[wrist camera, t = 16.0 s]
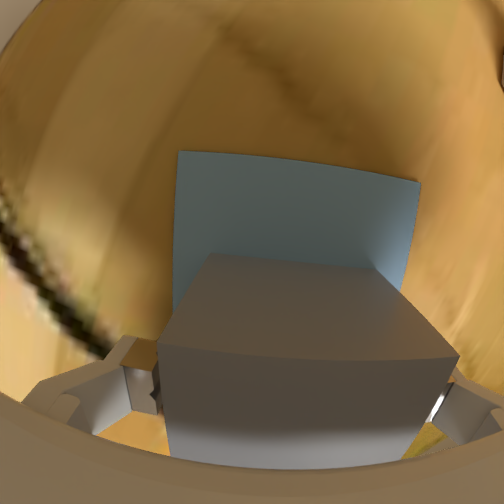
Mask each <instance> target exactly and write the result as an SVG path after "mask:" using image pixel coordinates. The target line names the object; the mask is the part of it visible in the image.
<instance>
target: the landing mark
mask: <svg viewBox="0 0 504 504" xmlns="http://www.w3.org/2000/svg"><path fill="white" fill-rule="evenodd" d="M420 187H421V183H419V182H415V181H411V180H406V179H402V178H397V177H392V176H388V175H383V174H378V173H373V172H367V171H362V170H357V169H351V168H345V167H339V166H333V165H326V164H320V163H313V162H306V161H298V160H290V159H282V158H273V157H264V156H253V155H242V154H230V153H215V152H198V151H179V152H178V164H177V177H176V192H175V209H174V232H173V313H174V311H175V310H176V308H177V306H178V305H179V303H180V301H181V300H182V298H183V296H184V295H185V293H186V291H187V290H188V288H189V286H190V285H191V283H192V281H193V280H194V278H195V276H196V275H197V273H198V271H199V270H200V268H201V267H202V265H203V263H204V262H205V260H206V258H207V257H208V255H209V254H210V253H218V254H227V255H237V256H247V257H256V258H266V259H276V260H286V261H296V262H306V263H316V264H326V265H336V266H346V267H356V268H366V269H376V270H378V271H379V272H380V273H381V274H382V275H383V276H384V277H385V278H386V279H387V280H388V281H389V282H390V283H391V284H392V285H393V286H394V287H395V288H396V289H397V290H398V291H399V292H400V289H401V285H402V281H403V277H404V273H405V269H406V265H407V260H408V256H409V251H410V246H411V241H412V236H413V231H414V226H415V220H416V214H417V208H418V201H419V194H420Z"/></svg>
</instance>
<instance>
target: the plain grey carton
mask: <svg viewBox="0 0 504 504" xmlns="http://www.w3.org/2000/svg"><path fill="white" fill-rule="evenodd" d="M157 353H158V365H159V376H160V385H161V394H162V402H163V410H164V417H165V424H166V431H167V438H168V444H169V450H170V455H171V457H176V458H181V459H186V460H192V461H198V462H204V463H211V464H219V465H227V466H236V467H248V468H263V469H327V468H342V467H353V466H363V465H371V464H378V463H385V462H391V461H397V460H400V459H401V457H402V456H403V455H404V453H405V452H406V450H407V449H408V447H409V446H410V445H411V443H412V442H413V440H414V439H415V437H416V436H417V434H418V433H419V431H420V429H421V428H422V426H423V425H424V423H425V421H426V420H427V418H428V417H429V415H430V413H431V411H432V410H433V408H434V406H435V405H436V403H437V401H438V399H439V397H440V396H441V394H442V392H443V390H444V388H445V386H446V384H447V382H448V380H449V378H450V376H451V374H452V372H453V370H454V368H455V366H456V364H457V362H458V359H459V357H460V355H459V354H458V353H457V352H456V351H455V350H454V349H453V347H452V346H451V345H450V344H449V343H448V342H447V341H446V340H445V339H444V338H443V336H442V335H441V334H440V333H439V332H438V331H437V330H436V329H435V328H434V327H433V326H432V325H431V324H430V323H429V322H428V320H427V319H426V318H425V317H424V316H423V315H422V314H421V313H420V312H419V311H418V310H417V309H416V308H415V307H414V306H413V305H412V304H411V303H410V302H409V301H408V300H407V299H406V298H405V297H404V296H403V295H402V294H401V293H400V292H399V291H398V290H397V289H396V288H395V287H394V286H393V285H392V284H391V283H390V282H389V281H388V280H387V279H386V278H385V277H384V276H383V275H382V274H381V273H380V272H379V271H378V270H376V269H366V268H356V267H346V266H336V265H326V264H316V263H306V262H296V261H286V260H276V259H266V258H256V257H247V256H237V255H227V254H218V253H210V254H209V255H208V257H207V258H206V260H205V262H204V263H203V265H202V267H201V268H200V270H199V271H198V273H197V275H196V276H195V278H194V280H193V281H192V283H191V285H190V286H189V288H188V290H187V291H186V293H185V295H184V296H183V298H182V300H181V301H180V303H179V305H178V306H177V308H176V310H175V311H174V313H173V315H172V317H171V318H170V320H169V322H168V323H167V325H166V327H165V329H164V330H163V332H162V334H161V335H160V337H159V339H158V341H157Z"/></svg>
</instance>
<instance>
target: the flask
mask: <svg viewBox="0 0 504 504" xmlns="http://www.w3.org/2000/svg"><path fill="white" fill-rule="evenodd" d="M502 85H503V87H504V57H503V73H502Z"/></svg>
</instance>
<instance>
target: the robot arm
mask: <svg viewBox="0 0 504 504" xmlns="http://www.w3.org/2000/svg"><path fill="white" fill-rule="evenodd" d="M162 403H163V402H162V394H161V385H160V376H159V365H158V353H157V341H153V340H148V339H143V338H138V337H134V336H129V335H124V336H122V337H121V339H120V340H119V341H118V342H117V344H116V345H115V346H114V348H113V349H112V350H111V351H110V353H109V354H108V355H107V357H106V358H105V359H104V361H101V360H98V361H95V362H93V363H90V364H87V365H84V366H82V367H79V368H76V369H73V370H71V371H68V372H65V373H62V374H59V375H57V376H54V377H51V378H48V379H45V380H42V381H40V382H39V383H38V384H37V385H36V386H35V387H34V388H33V389H32V391H31V392H30V393H29V394H28V395H27V396H26V397H25V399H24V400H23V401H22V402H21V403H20V402H18V401H16V400H15V399H13V398H11V397H9V396H7V395H6V394H4V393H2V392H0V504H504V396H502V395H499V394H497V393H495V392H493V391H491V390H489V389H487V388H485V387H483V386H481V385H479V384H477V383H475V382H473V381H471V380H467V379H466V378H465V377H464V376H463V374H462V373H461V372H460V371H459V370H458V368H457V367H456V366H455V368H454V370H453V372H452V374H451V376H450V378H449V380H448V382H447V384H446V386H445V388H444V390H443V392H442V394H441V396H440V397H439V399H438V401H437V403H436V405H435V406H434V408H433V410H432V411H431V413H430V415H429V417H428V418H427V420H426V421H425V423H426V422H431V423H432V424H434V425H435V426H436V427H437V428H439V429H440V430H441V431H442V432H443V433H445V434H446V435H447V436H448V437H450V438H451V439H452V440H453V441H455V442H456V443H457V444H458V445H459V446H456V447H453V448H449V449H446V450H442V451H438V452H435V453H430V454H426V455H422V456H417V457H413V458H408V459H402V460H397V461H391V462H385V463H378V464H371V465H363V466H353V467H342V468H327V469H263V468H248V467H236V466H227V465H219V464H211V463H204V462H198V461H192V460H186V459H181V458H176V457H171V456H166V455H162V454H157V453H153V452H149V451H145V450H141V449H137V448H134V447H130V446H127V445H123V444H120V443H117V442H113V441H110V440H107V439H104V438H101V437H98V436H95V435H97V434H98V433H100V432H101V431H103V430H105V429H106V428H108V427H109V426H111V425H112V424H114V423H115V422H117V421H118V420H120V419H121V418H123V417H124V416H126V415H127V414H129V413H130V412H132V410H134V411H138V412H143V413H148V414H153V415H158V413H159V410H160V408H161V406H162Z"/></svg>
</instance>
